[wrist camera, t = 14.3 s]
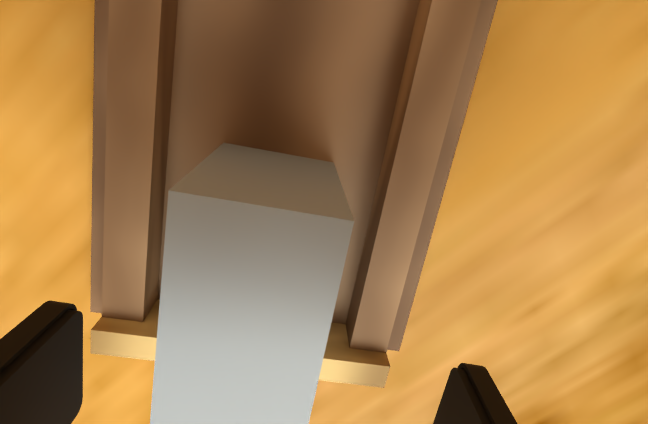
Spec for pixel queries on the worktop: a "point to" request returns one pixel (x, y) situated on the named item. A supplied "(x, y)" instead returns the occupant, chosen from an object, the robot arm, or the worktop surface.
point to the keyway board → (280, 141)
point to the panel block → (248, 288)
